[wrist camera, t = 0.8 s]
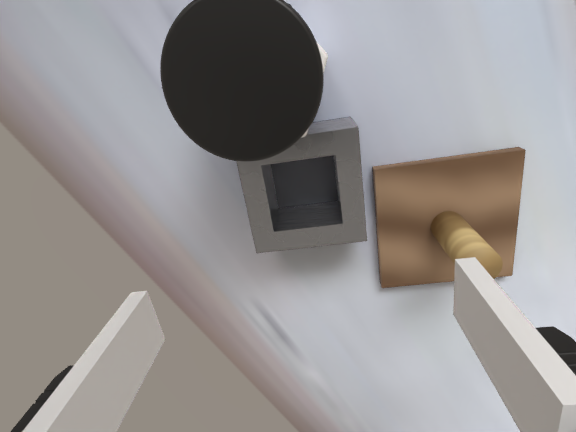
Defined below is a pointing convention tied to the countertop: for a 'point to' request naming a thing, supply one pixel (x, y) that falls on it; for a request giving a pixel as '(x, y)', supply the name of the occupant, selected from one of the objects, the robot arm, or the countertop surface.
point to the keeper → (447, 215)
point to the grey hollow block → (313, 217)
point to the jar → (242, 76)
